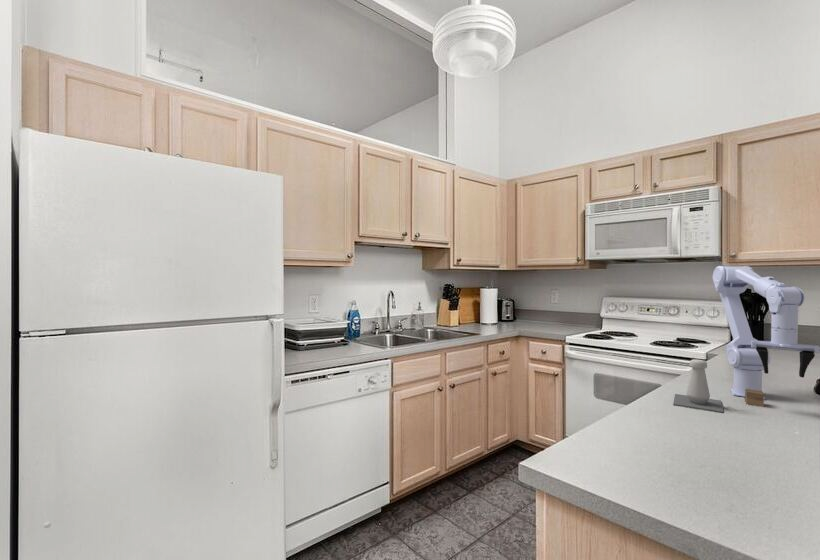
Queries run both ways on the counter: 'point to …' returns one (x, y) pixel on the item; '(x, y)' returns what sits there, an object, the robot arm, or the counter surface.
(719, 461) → the counter surface
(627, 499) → the counter surface
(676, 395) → the rubber mat
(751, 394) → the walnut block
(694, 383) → the salt shaker
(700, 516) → the counter surface
